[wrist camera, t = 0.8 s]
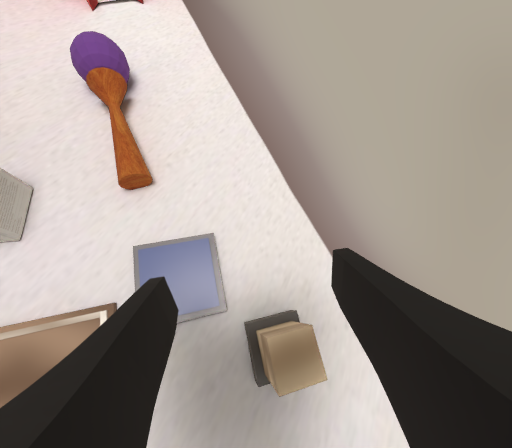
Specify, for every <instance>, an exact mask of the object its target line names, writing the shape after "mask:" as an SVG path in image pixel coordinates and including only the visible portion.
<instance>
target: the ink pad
mask: <svg viewBox="0 0 512 448" xmlns="http://www.w3.org/2000/svg"><path fill="white" fill-rule="evenodd" d="M133 257H134V278H135V292H136V291H137V290H138V289H139V288H140V287H141V286H142V285H143V284H144V283H145V282H146V281H148V280H149V279H150V278H156V277H163V276H164V277H165V279H166V282H167V284H168V286H169V289H170V291H171V293H172V296H173V298H174V300H175V303H176V305H177V307H178V310H179V312H178V319H177V323H179V322H183V321H187V320H191V319H195V318H199V317H203V316H207V315H211V314H216V313H220V312H224V311H227V308H226V303H225V297H224V291H223V285H222V279H221V273H220V268H219V262H218V256H217V250H216V244H215V238H214V233H210V234H204V235H198V236H192V237H186V238H180V239H174V240H168V241H162V242H156V243H150V244H144V245H138V246H133Z"/></svg>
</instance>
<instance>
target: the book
mask: <svg viewBox="0 0 512 448" xmlns="http://www.w3.org/2000/svg"><path fill="white" fill-rule="evenodd" d="M106 1H114V0H87V2H88V3H89V5H90V7H91V8H92V10H94V9H95V7H96V5H97V4H98V2H106ZM138 1H139V2H141V3H143V0H138Z"/></svg>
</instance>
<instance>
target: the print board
mask: <svg viewBox="0 0 512 448" xmlns="http://www.w3.org/2000/svg"><path fill="white" fill-rule="evenodd" d="M116 310H117V307H116V303H111V304H107V305H102V306H98V307H93V308H88V309H84V310H79V311H74V312H70V313H65V314H60V315H56V316H51V317H46V318H42V319H37V320H32V321H28V322H23V323H18V324H14V325H9V326H4V327H0V408H1V407H2V406H4V405H5V404H6V403H8V402H9V401H10V400H12V399H13V398H14V397H16V396H17V395H18V394H20V393H21V392H23V391H24V390H25V389H27V388H28V387H29V386H30V385H32V384H33V383H34V382H36V381H37V380H38V379H39V378H41V377H42V376H43V375H44V374H45V373H47V372H48V371H49V370H50V369H52V368H53V367H54V366H55V365H57V364H58V363H59V362H60V361H61V360H63V359H64V358H65V357H66V356H67V355H68V354H70V353H71V352H72V351H73V350H74V349H75V348H77V347H78V346H79V345H80V344H81V343H82V342H83V341H84V340H85V339H86V338H88V337H89V336H90V335H91V334H92V333H93V332H94V331H95V330H96V329H97V328H99V327H100V326H101V325H102V324H103V323H104V322H105V321H106V320H107V319H108V318H109V317H110V316H111V315H112V314H113V313H114V312H115V311H116Z"/></svg>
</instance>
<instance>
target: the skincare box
mask: <svg viewBox="0 0 512 448" xmlns="http://www.w3.org/2000/svg"><path fill="white" fill-rule="evenodd" d="M32 189H33V188H32V187H30V186H29V185H27V184H26V183H24V182H22V181H21V180H19V179H18V178H16V177H14V176H13V175H11V174H9V173H8V172H6V171H5V170H3V169H1V168H0V242H9V241H19V240H20V238H21V234H22V231H23V227H24V223H25V219H26V214H27V210H28V206H29V202H30V198H31V194H32Z"/></svg>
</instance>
